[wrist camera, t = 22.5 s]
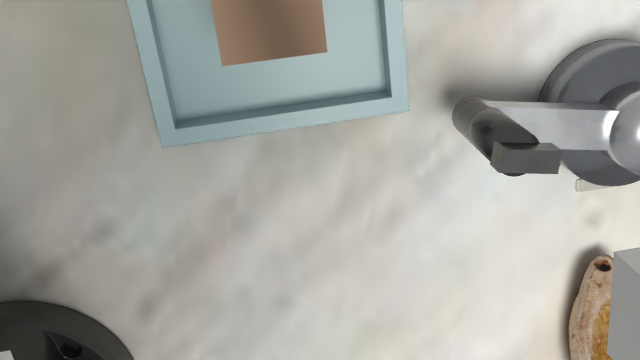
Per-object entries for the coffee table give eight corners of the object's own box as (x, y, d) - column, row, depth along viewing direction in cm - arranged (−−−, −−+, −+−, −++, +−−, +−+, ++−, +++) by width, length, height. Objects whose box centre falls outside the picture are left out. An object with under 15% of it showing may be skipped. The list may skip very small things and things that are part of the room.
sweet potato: (625, 239, 45) (661, 270, 41) (621, 387, 51) (653, 427, 47) (556, 254, 45) (586, 285, 41) (560, 400, 51) (586, 441, 47)
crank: (674, 81, 38) (779, 118, 30) (653, 158, 39) (746, 211, 32) (456, 73, 36) (510, 110, 28) (445, 153, 38) (492, 208, 30)
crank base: (657, 177, 43) (685, 194, 41) (534, 197, 43) (554, 215, 40) (672, 29, 39) (704, 37, 37) (536, 49, 39) (558, 58, 36)
